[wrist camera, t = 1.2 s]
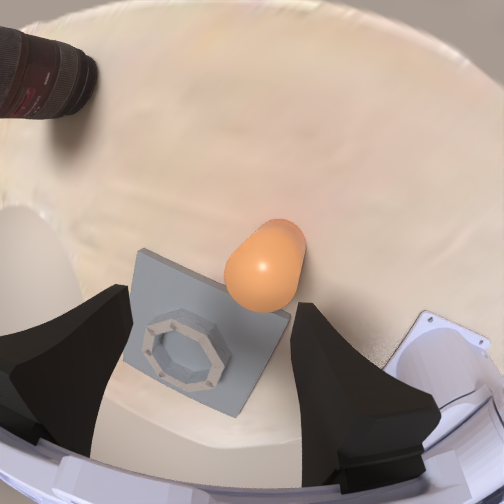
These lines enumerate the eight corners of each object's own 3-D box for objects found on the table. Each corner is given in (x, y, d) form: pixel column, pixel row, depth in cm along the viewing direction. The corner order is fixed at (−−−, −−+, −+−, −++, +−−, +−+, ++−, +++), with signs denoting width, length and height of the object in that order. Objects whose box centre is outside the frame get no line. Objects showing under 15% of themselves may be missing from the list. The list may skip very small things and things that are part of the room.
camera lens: (85, 129, 23) (-49, 133, 9) (46, 113, 24) (-64, 116, 10) (115, 53, 20) (-14, 17, 6) (70, 48, 21) (-37, 27, 7)
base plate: (290, 314, 23) (289, 320, 22) (238, 412, 28) (235, 418, 27) (143, 247, 25) (137, 250, 24) (127, 356, 30) (122, 360, 29)
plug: (314, 231, 21) (310, 261, 15) (293, 278, 22) (280, 323, 16) (264, 210, 22) (237, 230, 15) (246, 258, 23) (215, 294, 16)
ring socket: (239, 334, 24) (232, 347, 22) (215, 389, 27) (209, 402, 25) (160, 296, 25) (149, 306, 23) (149, 355, 27) (139, 366, 26)
